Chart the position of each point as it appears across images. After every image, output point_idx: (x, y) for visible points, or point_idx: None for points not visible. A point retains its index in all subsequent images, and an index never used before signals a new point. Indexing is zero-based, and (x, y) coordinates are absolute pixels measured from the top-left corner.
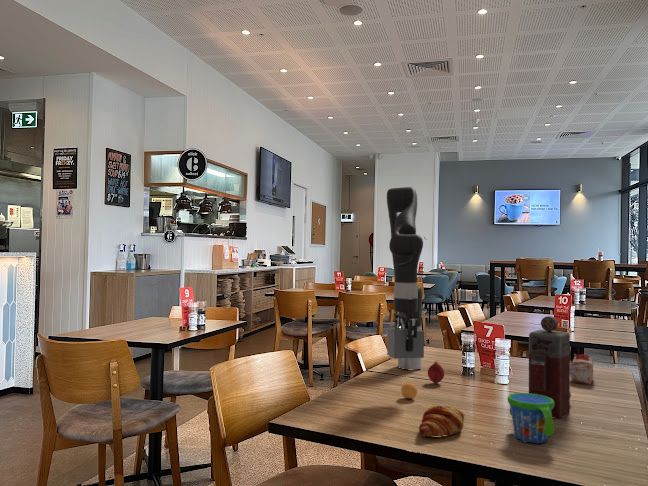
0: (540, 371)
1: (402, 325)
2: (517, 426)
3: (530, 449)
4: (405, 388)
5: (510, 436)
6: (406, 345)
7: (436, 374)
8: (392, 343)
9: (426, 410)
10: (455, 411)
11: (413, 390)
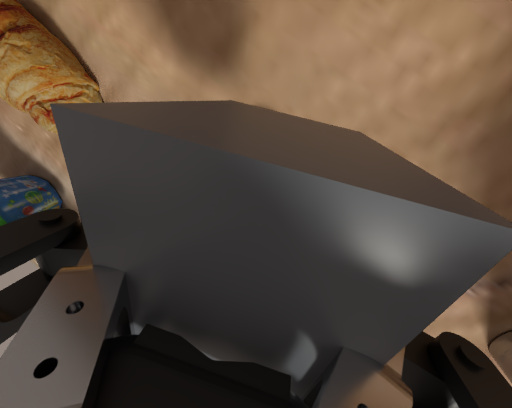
0: None
1: (70, 372)
2: (7, 179)
3: (7, 163)
4: None
5: (52, 177)
6: None
7: None
8: (236, 112)
9: (13, 37)
10: (35, 119)
11: None
